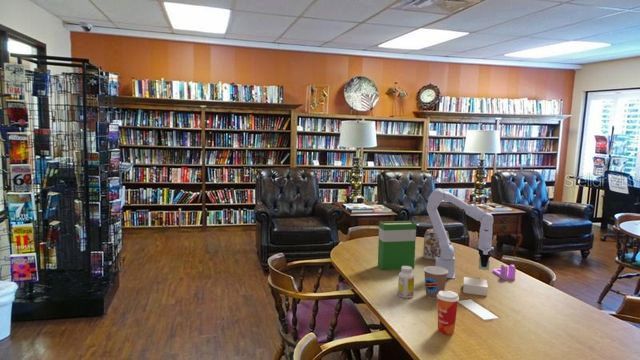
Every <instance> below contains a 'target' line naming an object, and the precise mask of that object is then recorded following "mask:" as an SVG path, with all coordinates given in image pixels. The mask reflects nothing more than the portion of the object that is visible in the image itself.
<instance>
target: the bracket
mask: <svg viewBox="0 0 640 360" xmlns="http://www.w3.org/2000/svg"><path fill="white" fill-rule="evenodd" d="M492 273H493V274H495V275H496V276H498V277H500V278H501V279H502V278H503V280H505V279H511V280H516V266H515V264H509V265H508V266H507V264H501V266H500V268H492Z"/></svg>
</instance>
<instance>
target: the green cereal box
mask: <svg viewBox="0 0 640 360" xmlns="http://www.w3.org/2000/svg"><path fill="white" fill-rule="evenodd" d="M378 225H379V226H378V244H377V245H378V246H377V247H378V248H377V249H378V250H377V266H378V267H379V269H380V270H382V271H390V270H391V271H393V270H394V269H395V270H401V267H402V266H410V267H412V270H413V269H415V262H416V261H415V259H416V257H415V256H416V240H417V239H416V237H417V223H412V220H397V221H396V220H395V221H389V220H388V221H379V223H378ZM395 270H394V271H395Z"/></svg>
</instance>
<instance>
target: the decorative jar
mask: <svg viewBox="0 0 640 360" xmlns="http://www.w3.org/2000/svg"><path fill="white" fill-rule="evenodd" d="M445 231H446V234H447V236H448V238H449V239H450V233H449V232H448V230H446V229H445ZM422 250H423V251H422V252H423V253H422V258H423V259H427V260H431V261H432V260H433V261H436V257H440V256H441V254H440V252H441V249H440V245H439V241H438V238H437V235H436V233H435V230H434V227H433V226H432V228H429V229H426V231H425V232H424V238H423V249H422Z"/></svg>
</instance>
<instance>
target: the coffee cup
mask: <svg viewBox="0 0 640 360" xmlns="http://www.w3.org/2000/svg"><path fill="white" fill-rule="evenodd" d="M423 271H424V287H425V294H426V297H427V298H429V299H430V300H431V299H432V300H438V298H437V294H438V292H439V291H445V288H446V283H447V279H448V278H447V273H448V270H447V269H445V268H442V267H437V266H435V265H434V266H433V265H432V266H431V265H430V266H429V265H428V266H425V267H424V268H423Z"/></svg>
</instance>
